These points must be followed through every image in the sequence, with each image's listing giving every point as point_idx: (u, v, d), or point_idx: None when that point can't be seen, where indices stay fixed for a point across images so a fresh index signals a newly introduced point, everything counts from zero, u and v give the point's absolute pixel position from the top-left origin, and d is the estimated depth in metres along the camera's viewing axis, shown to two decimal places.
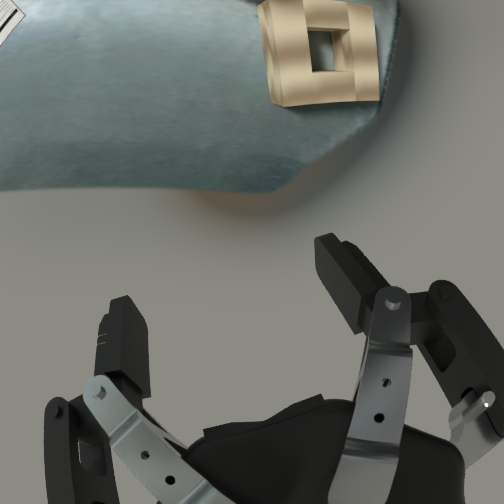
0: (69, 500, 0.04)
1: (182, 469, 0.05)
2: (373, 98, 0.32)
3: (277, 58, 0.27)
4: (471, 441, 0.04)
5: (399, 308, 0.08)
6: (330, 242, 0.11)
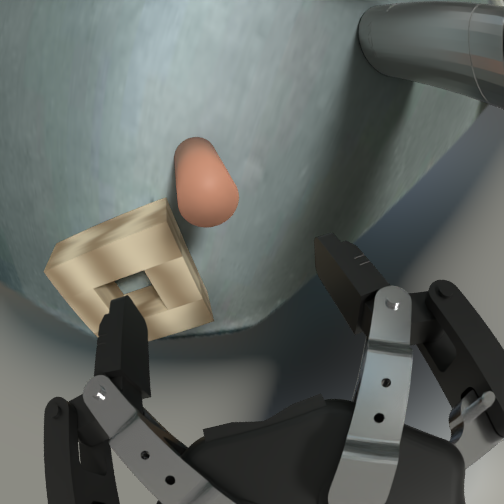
0: (69, 500, 0.04)
1: (182, 469, 0.05)
2: None
3: (90, 249, 0.23)
4: (471, 441, 0.04)
5: (399, 308, 0.08)
6: (330, 242, 0.11)
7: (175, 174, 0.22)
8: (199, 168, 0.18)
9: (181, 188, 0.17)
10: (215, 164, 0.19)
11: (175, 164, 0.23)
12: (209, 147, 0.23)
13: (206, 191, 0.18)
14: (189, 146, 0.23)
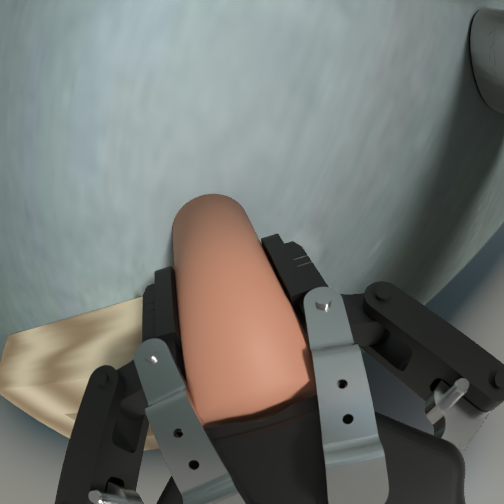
0: (86, 472, 0.05)
1: (210, 458, 0.05)
2: None
3: (47, 379, 0.12)
4: (458, 428, 0.05)
5: (327, 309, 0.08)
6: (273, 243, 0.11)
7: None
8: (246, 361, 0.06)
9: (203, 412, 0.06)
10: (281, 327, 0.08)
11: (175, 264, 0.11)
12: (246, 232, 0.12)
13: (264, 409, 0.07)
14: (203, 228, 0.11)
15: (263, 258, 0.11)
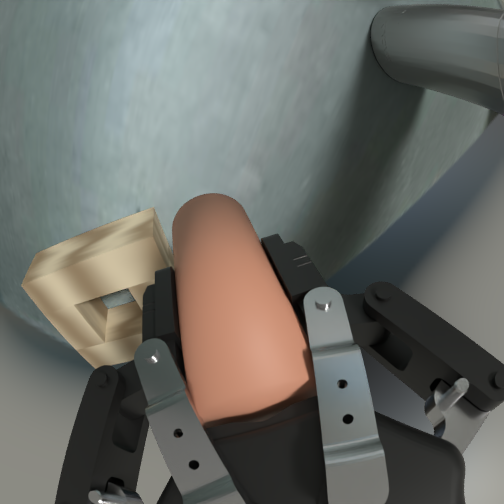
0: (86, 472, 0.05)
1: (210, 458, 0.05)
2: (92, 363, 0.27)
3: (69, 263, 0.20)
4: (457, 428, 0.05)
5: (327, 309, 0.08)
6: (273, 243, 0.11)
7: (176, 295, 0.11)
8: (246, 359, 0.06)
9: (202, 410, 0.06)
10: (281, 326, 0.08)
11: (175, 263, 0.12)
12: (245, 231, 0.12)
13: (263, 407, 0.07)
14: (203, 227, 0.11)
15: (263, 257, 0.11)
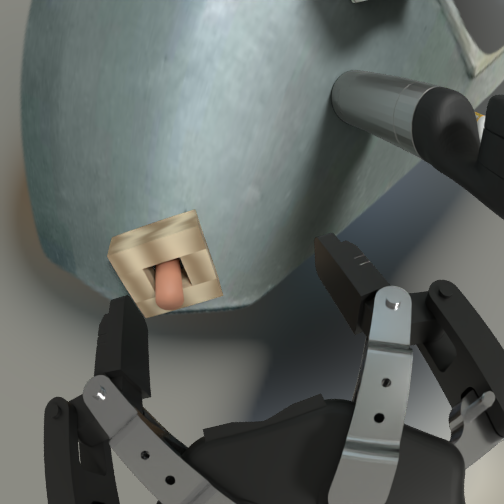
0: (69, 500, 0.04)
1: (182, 469, 0.05)
2: (144, 314, 0.45)
3: (144, 242, 0.38)
4: (471, 441, 0.04)
5: (399, 308, 0.08)
6: (330, 242, 0.11)
7: (155, 277, 0.42)
8: (164, 286, 0.38)
9: (156, 296, 0.37)
10: (172, 281, 0.39)
11: None
12: (173, 260, 0.43)
13: (168, 297, 0.38)
14: None
15: (175, 267, 0.42)
